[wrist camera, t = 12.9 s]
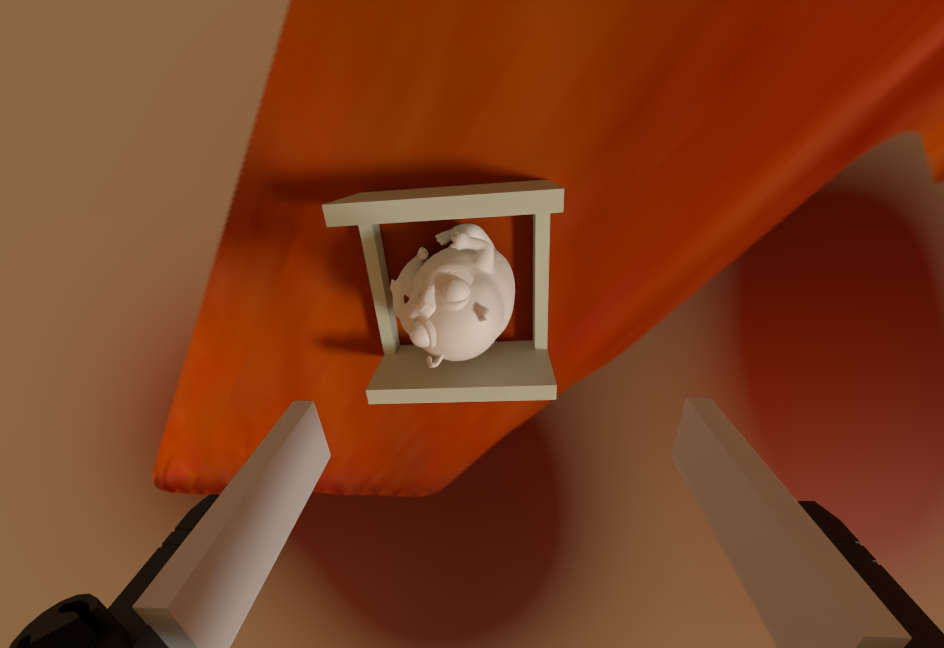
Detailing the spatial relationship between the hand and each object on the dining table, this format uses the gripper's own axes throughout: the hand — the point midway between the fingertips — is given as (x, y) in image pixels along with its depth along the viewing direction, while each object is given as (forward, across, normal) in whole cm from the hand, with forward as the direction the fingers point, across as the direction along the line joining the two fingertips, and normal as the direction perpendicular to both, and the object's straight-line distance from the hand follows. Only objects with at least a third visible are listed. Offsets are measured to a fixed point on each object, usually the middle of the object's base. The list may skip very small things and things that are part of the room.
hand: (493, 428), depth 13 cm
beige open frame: (+23, -4, -2) cm, 23 cm away
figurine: (+23, -3, -2) cm, 24 cm away
